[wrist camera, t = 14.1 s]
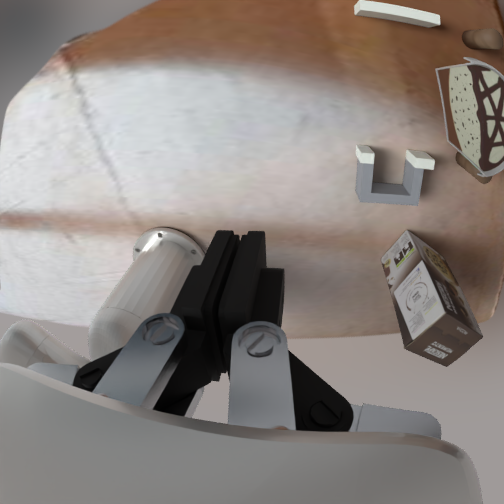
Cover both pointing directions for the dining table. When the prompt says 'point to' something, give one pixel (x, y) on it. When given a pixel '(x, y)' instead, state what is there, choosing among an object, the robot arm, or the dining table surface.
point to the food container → (474, 113)
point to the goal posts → (479, 41)
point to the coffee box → (428, 302)
